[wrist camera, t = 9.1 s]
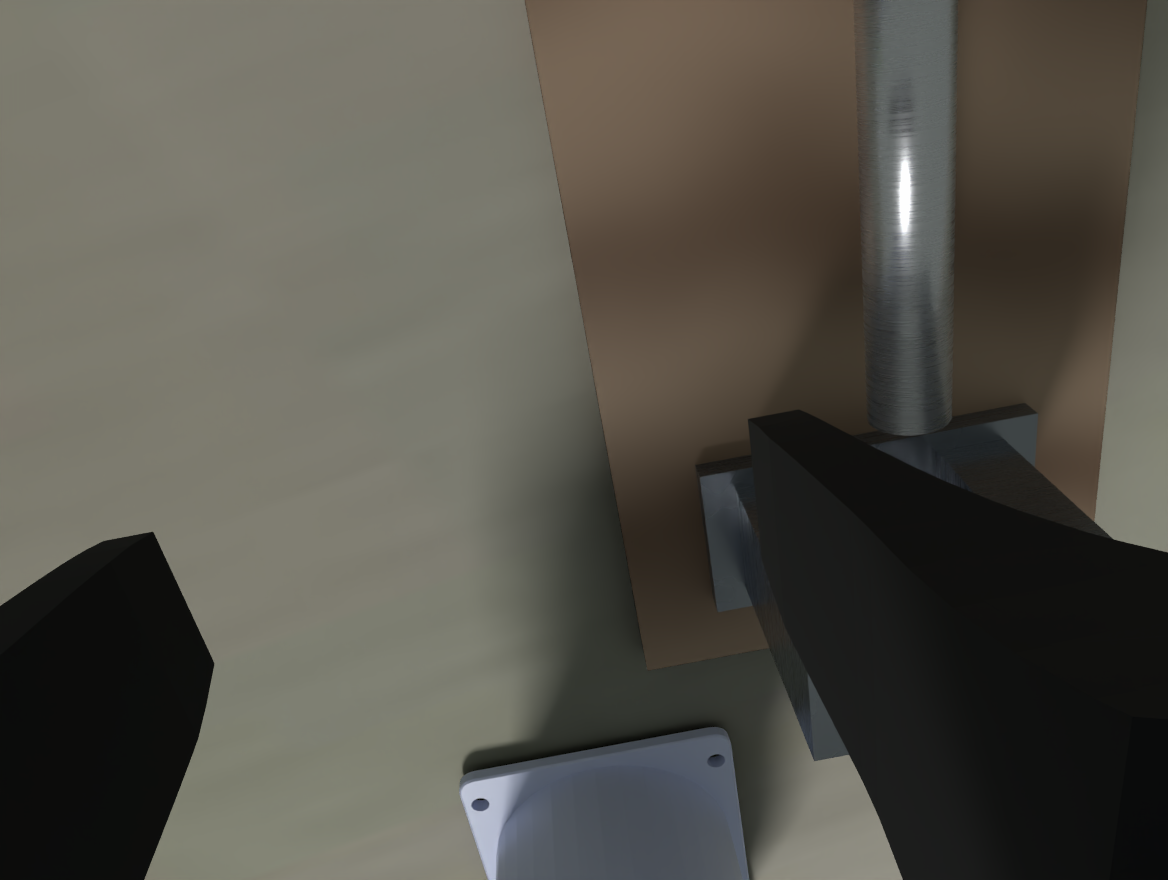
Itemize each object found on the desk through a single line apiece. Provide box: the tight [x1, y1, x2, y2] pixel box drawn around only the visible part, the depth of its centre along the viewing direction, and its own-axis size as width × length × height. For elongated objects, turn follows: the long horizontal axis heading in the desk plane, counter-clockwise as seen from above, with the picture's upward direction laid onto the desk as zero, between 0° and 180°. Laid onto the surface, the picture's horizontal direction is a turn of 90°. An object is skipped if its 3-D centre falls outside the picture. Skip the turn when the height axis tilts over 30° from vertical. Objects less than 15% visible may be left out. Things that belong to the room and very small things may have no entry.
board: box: [525, 0, 1147, 671], centre depth 20 cm, size 21×12×1 cm, turn 10°
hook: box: [853, 0, 958, 436], centre depth 15 cm, size 14×5×6 cm, turn 10°
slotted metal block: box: [695, 403, 1112, 761], centre depth 20 cm, size 4×8×6 cm, turn 100°
